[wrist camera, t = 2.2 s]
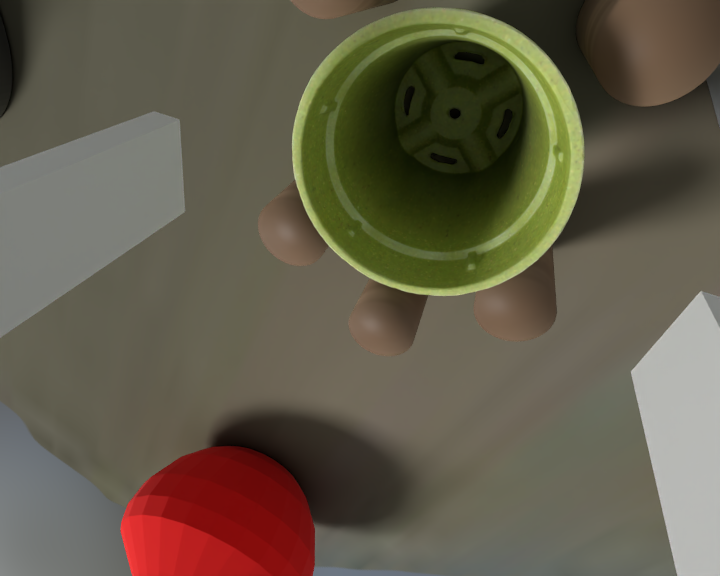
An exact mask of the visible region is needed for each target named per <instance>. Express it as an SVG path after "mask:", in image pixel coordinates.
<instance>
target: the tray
mask: <svg viewBox="0 0 720 576" xmlns="http://www.w3.org/2000/svg"><path fill="white" fill-rule="evenodd" d="M706 80H707V84H708V87H709V91H710V94H711V98H712V102H713V105H714V109H715V113H716V116H717V120H718V124H719V127H720V64H719V65H718V66H717V68H716V69H715V70H714V71H713V72H712V74H711V75H710V76H709V77H708V78H707V79H706Z"/></svg>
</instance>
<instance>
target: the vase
mask: <svg viewBox="0 0 720 576" xmlns="http://www.w3.org/2000/svg"><path fill="white" fill-rule="evenodd" d="M121 534H122V538H123V542H124V546H125V550H126V553H127V557H128V561H129V565H130V569H131V573H132V576H313V571H314V565H315V528H314V524H313V520H312V517H311V513H310V509H309V505H308V502H307V499H306V496H305V495H304V493H303V491H302V490H301V488H300V486H299V484H298V483H297V481H296V480H295V478H294V477H293V476H292V475H291V474H290V473H289V472H288V471H287V470H286V469H285V468H284V467H283V466H282V465H280V464H279V463H278V462H276V461H275V460H273V459H271V458H270V457H268V456H266V455H264V454H262V453H260V452H257V451H254V450H252V449H249V448H244V447H239V446H219V447H211V448H207V449H203V450H200V451H197V452H194V453H191V454H188V455H185V456H182V457H180V458H179V459H177V460H176V461H174V462H173V463H171V464H170V465H168V466H167V467H165V468H164V469H162V470H161V471H159V472H158V473H156V474H155V475H153V476H152V477H151V478H150V479H148V480H147V481H146V482H145V483H144V484H143V485H142V487H141V488H140V489H139V490H138V492H137V493H136V494H135V495H134V497H133V498H132V499H131V501H130V502H129V503H128V505H127V508H126V511H125V514H124V516H123V519H122V523H121Z"/></svg>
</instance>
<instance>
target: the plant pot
mask: <svg viewBox="0 0 720 576" xmlns="http://www.w3.org/2000/svg"><path fill="white" fill-rule="evenodd" d="M458 52H468V53H474V54H478V55H481V56H482V58H483V59H484V64H483V65H481V64H478V63H475V62H471V61H467V60H459V59H455V58H454V56H455V55H456V54H457V53H458ZM410 86H413V87H414V88H415V92H414V94H413V97H412V100H411V105H410V110H409V111H408V112H409V115H408V116H406V113H405V111H404V97H405V94H406V91H407V89H408V88H409V87H410ZM453 108H457V109H458V110H460V111H461V114H460V117H459V118H457V119H454V118H451V117H450V114H449V113H450V110H451V109H453ZM508 108H509V109H511V111H512V116H513V117H512V120H511V122H510V124H509V127H508V130H507V132H506V134H505V135H504V136H503V137H501V138H497V133H498V131H499V129H500V127H501V124H502V122H503V118H504V112H505V110H506V109H508ZM292 153H293V158H292V159H293V168H294V176H295V180H296V184H297V188H298V190H299V193H300V197H301V199H302V202H303V205H304V207H305V210H306V212H307V214H308V216H309V218H310V220H311V221H312V223H313V225H314V227H315V228H316V229H317V231H318V232H319V234H320V235H321V236H322V238H323V239H324V240H325V242H326V243H327V244H328V245H329V247H330V248H332V249H333V250H334V251H335V252H336V253H337V254H338V255H339V256H340V257H341V258H342V259H344V260H345V261H346V262H348V263H349V264H350V265H351V266H353V267H354V268H355V269H357V270H358V271H359V272H361V273H363V274H364V275H366V276H367V277H369V278H371V279H373V280H375V281H377V282H379V283H382V284H384V285H387V286H389V287H393V288H397V289H400V290H402V291H405V292H410V293H415V294H423V295H435V296H452V295H462V294H466V293H471V292H476V291H480V290H484V289H488V288H491V287H493V286H496V285H498V284H501V283H503V282H505V281H507V280H508V279H511V278H512V277H514V276H516V275H518V274H520V273H521V272H523V271H524V270H526V269H527V268H528V267H529V266H531V265H532V264H533V263H534V262H536V261H537V260H538V259H539V258H540V257H541V256H542V255H543V254H544V253H545V252H546V251H547V250H548V249H549V248H550V247H551V245H552V244H553V243H554V242H555V240H556V239H557V238H558V236H559V235H560V233H561V232H562V230H563V229H564V227H565V225H566V223H567V222H568V220H569V218H570V215H571V213H572V211H573V208H574V206H575V204H576V201H577V198H578V195H579V192H580V187H581V183H582V178H583V170H584V136H583V129H582V123H581V119H580V115H579V111H578V108H577V105H576V102H575V100H574V97H573V95H572V92H571V90H570V88H569V86H568V84H567V82H566V81H565V79H564V77H563V76H562V74H561V73H560V71H559V70H558V68H557V67H556V65H555V64H554V63H553V61H552V60H551V59H550V58H549V57H548V55H547V54H546V53H545V52H544V51H543V50H542V49H541V48H540V47H539V46H538V45H537V44H536V43H535V42H533V41H532V40H531V39H530V38H528V37H527V36H526V35H524V34H523V33H522V32H520V31H519V30H517V29H515V28H514V27H512V26H510V25H508V24H506V23H504V22H502V21H500V20H498V19H495V18H493V17H490V16H488V15H484V14H481V13H478V12H475V11H470V10H464V9H458V8H442V7H432V8H420V9H414V10H408V11H404V12H399V13H396V14H393V15H390V16H387V17H384V18H381V19H379V20H377V21H375V22H373V23H371V24H369V25H367V26H365V27H363V28H361V29H360V30H358V31H356V32H355V33H354V34H352V35H351V36H350V37H348V38H347V39H346V40H344V41H343V42H342V43H341V44H340V45H338V46H337V47H336V48H335V49H334V50H333V51H332V52H331V53H330V54H329V55H328V56H327V57H326V58H325V59H324V61H323V62H322V63H321V64H320V66H319V67H318V68H317V70H316V71H315V73H314V74H313V76H312V77H311V79H310V81H309V83H308V85H307V87H306V89H305V91H304V93H303V96H302V98H301V101H300V104H299V107H298V111H297V115H296V118H295V123H294V129H293V136H292ZM432 153H436V154H438V155H441V156H444V157H448V158H456V160H457V162H456V163H455V164H448V163H440V162H437V161H435V160H433V159H431V156H430V154H432Z"/></svg>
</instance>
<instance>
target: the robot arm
mask: <svg viewBox="0 0 720 576" xmlns="http://www.w3.org/2000/svg"><path fill="white" fill-rule="evenodd" d="M11 88H12V63H11V55H10V49H9V44H8V40H7V36H6V32H5V29H4V25H3V22H2V19H1V16H0V116H1V115H2V114H3V112H4V111H5V109H6V107H7V105H8V102H9V99H10V94H11ZM184 212H185V202H184V185H183V168H182V151H181V134H180V120H179V119H176V118H173V117H170V116H167V115H164V114H161V113H158V112H155V111H153V112H151V113H148V114H145V115H142V116H140V117H137V118H134V119H131V120H129V121H126V122H123V123H120V124H118V125H115V126H112V127H109V128H107V129H104V130H101V131H98V132H96V133H93V134H90V135H88V136H85V137H82V138H79V139H77V140H74V141H71V142H68V143H66V144H63V145H60V146H57V147H55V148H52V149H49V150H46V151H44V152H41V153H38V154H35V155H33V156H30V157H27V158H24V159H22V160H19V161H16V162H13V163H11V164H8V165H5V166H3V167H0V337H2V336H3V335H5V334H6V333H8V332H9V331H11V330H12V329H14V328H15V327H17V326H18V325H20V324H21V323H22V322H24V321H25V320H27V319H28V318H30V317H31V316H33V315H34V314H36V313H37V312H39V311H40V310H42V309H43V308H45V307H46V306H47V305H49V304H50V303H52V302H53V301H55V300H56V299H58V298H59V297H61V296H62V295H64V294H65V293H67V292H68V291H69V290H71V289H72V288H74V287H75V286H77V285H78V284H80V283H81V282H83V281H84V280H86V279H87V278H89V277H90V276H92V275H93V274H94V273H96V272H97V271H99V270H100V269H102V268H103V267H105V266H106V265H108V264H109V263H111V262H112V261H114V260H115V259H116V258H118V257H119V256H121V255H122V254H124V253H125V252H127V251H128V250H130V249H131V248H133V247H134V246H136V245H137V244H139V243H140V242H141V241H143V240H144V239H146V238H147V237H149V236H150V235H152V234H153V233H155V232H156V231H158V230H159V229H161V228H162V227H164V226H165V225H166V224H168V223H169V222H171V221H172V220H174V219H175V218H177V217H178V216H180V215H181V214H183V213H184ZM631 375H632V379H633V384H634V388H635V392H636V397H637V401H638V405H639V410H640V414H641V419H642V423H643V427H644V432H645V436H646V440H647V445H648V449H649V454H650V458H651V462H652V467H653V471H654V475H655V480H656V484H657V489H658V493H659V497H660V502H661V506H662V510H663V515H664V519H665V524H666V528H667V532H668V537H669V541H670V545H671V550H672V554H673V559H674V563H675V567H676V572H677V576H720V297H718V296H715V295H712V294H709V293H706V292H703V291H700V293H699V294H698V295H697V296H696V297H695V298H694V299H693V301H692V302H691V303H690V304H689V305H688V306H687V308H686V309H685V310H684V311H683V312H682V313H681V314H680V316H679V317H678V318H677V319H676V320H675V321H674V323H673V324H672V325H671V326H670V327H669V328H668V329H667V331H666V332H665V333H664V334H663V335H662V336H661V338H660V339H659V340H658V341H657V342H656V343H655V344H654V346H653V347H652V348H651V349H650V350H649V351H648V353H647V354H646V355H645V356H644V357H643V358H642V359H641V361H640V362H639V363H638V364H637V365H636V366H635V368H634V369H633V370H632V371H631Z"/></svg>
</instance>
